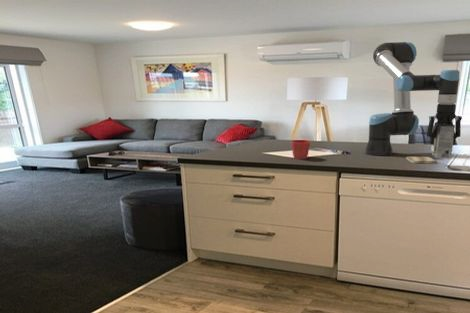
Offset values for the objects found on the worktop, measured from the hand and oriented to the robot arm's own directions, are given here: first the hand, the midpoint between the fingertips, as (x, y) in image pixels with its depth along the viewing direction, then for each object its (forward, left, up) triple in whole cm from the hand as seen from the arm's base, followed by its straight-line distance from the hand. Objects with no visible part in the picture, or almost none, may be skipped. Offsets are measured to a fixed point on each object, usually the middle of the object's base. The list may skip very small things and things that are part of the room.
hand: (441, 151), depth 163 cm
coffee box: (0, 0, -3) cm, 3 cm away
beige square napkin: (-5, +11, -7) cm, 14 cm away
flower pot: (-67, +18, -8) cm, 70 cm away
